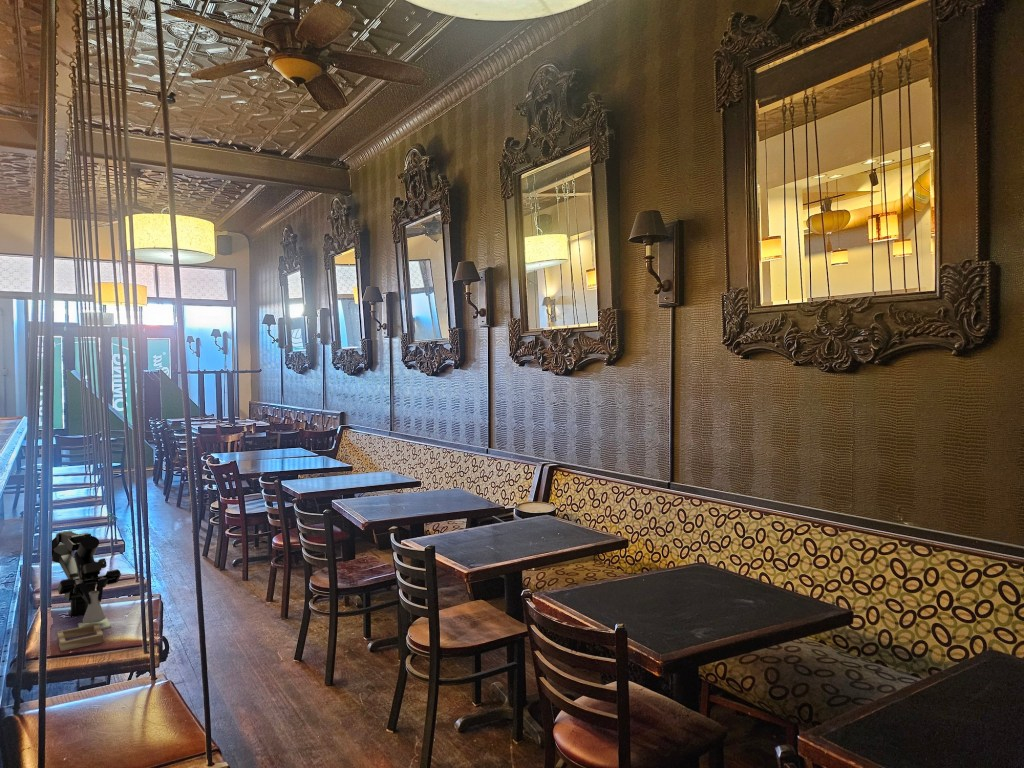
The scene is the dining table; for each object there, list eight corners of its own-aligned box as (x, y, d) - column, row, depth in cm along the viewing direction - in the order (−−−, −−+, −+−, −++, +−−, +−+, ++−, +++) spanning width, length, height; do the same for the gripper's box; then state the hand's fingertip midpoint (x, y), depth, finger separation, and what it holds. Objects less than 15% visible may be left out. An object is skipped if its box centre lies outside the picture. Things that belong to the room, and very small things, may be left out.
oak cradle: (57, 638, 231) (56, 631, 231) (98, 630, 238) (98, 623, 238) (60, 651, 222) (60, 643, 222) (103, 642, 229) (103, 634, 229)
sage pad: (77, 625, 243) (77, 623, 243) (106, 619, 248) (106, 617, 248) (81, 633, 236) (81, 631, 236) (111, 627, 241) (110, 625, 241)
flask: (101, 623, 240) (101, 595, 239) (78, 624, 238) (78, 596, 237) (108, 615, 247) (108, 588, 246) (86, 616, 245) (86, 589, 244)
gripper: (59, 557, 237) (69, 597, 230) (119, 547, 250) (129, 584, 243) (53, 574, 243) (62, 613, 236) (112, 563, 256) (122, 600, 249)
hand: (95, 602), depth 241 cm, fingers closed on flask, 3 cm apart
